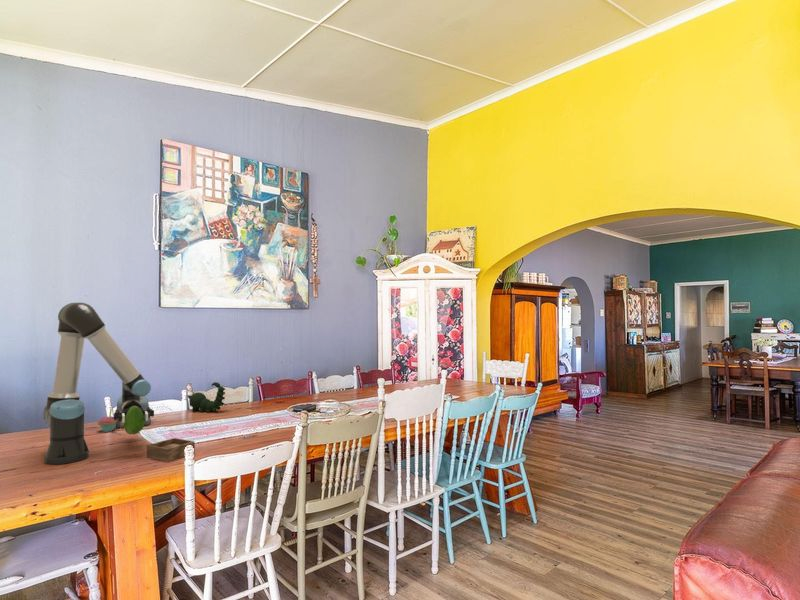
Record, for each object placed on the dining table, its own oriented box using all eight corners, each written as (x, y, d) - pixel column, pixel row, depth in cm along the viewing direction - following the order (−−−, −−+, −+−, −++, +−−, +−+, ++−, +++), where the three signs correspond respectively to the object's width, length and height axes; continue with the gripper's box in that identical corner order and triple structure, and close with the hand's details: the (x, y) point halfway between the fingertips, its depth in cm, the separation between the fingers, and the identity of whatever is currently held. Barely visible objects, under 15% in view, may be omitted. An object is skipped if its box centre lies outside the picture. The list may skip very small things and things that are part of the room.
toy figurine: (226, 413, 298) (191, 407, 304) (228, 382, 297) (193, 377, 304) (216, 417, 289) (180, 411, 295) (219, 384, 288) (183, 379, 295)
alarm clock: (116, 423, 268) (116, 393, 268) (150, 419, 276) (150, 390, 276) (115, 429, 254) (115, 398, 254) (150, 425, 261) (150, 395, 262)
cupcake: (121, 428, 254) (121, 405, 255) (109, 433, 246) (109, 408, 246) (105, 428, 255) (105, 405, 255) (93, 432, 247) (93, 408, 247)
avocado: (124, 437, 203) (125, 407, 203) (122, 433, 209) (122, 405, 210) (146, 434, 208) (147, 406, 208) (143, 431, 214) (143, 403, 214)
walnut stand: (167, 461, 199) (167, 449, 199) (146, 457, 205) (146, 445, 205) (194, 453, 210) (194, 441, 210) (174, 449, 217) (174, 437, 217)
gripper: (157, 415, 229) (162, 424, 210) (105, 419, 218) (106, 430, 199) (157, 399, 229) (163, 407, 210) (105, 402, 219) (106, 411, 199)
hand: (135, 418), depth 205 cm, fingers closed on avocado, 8 cm apart
